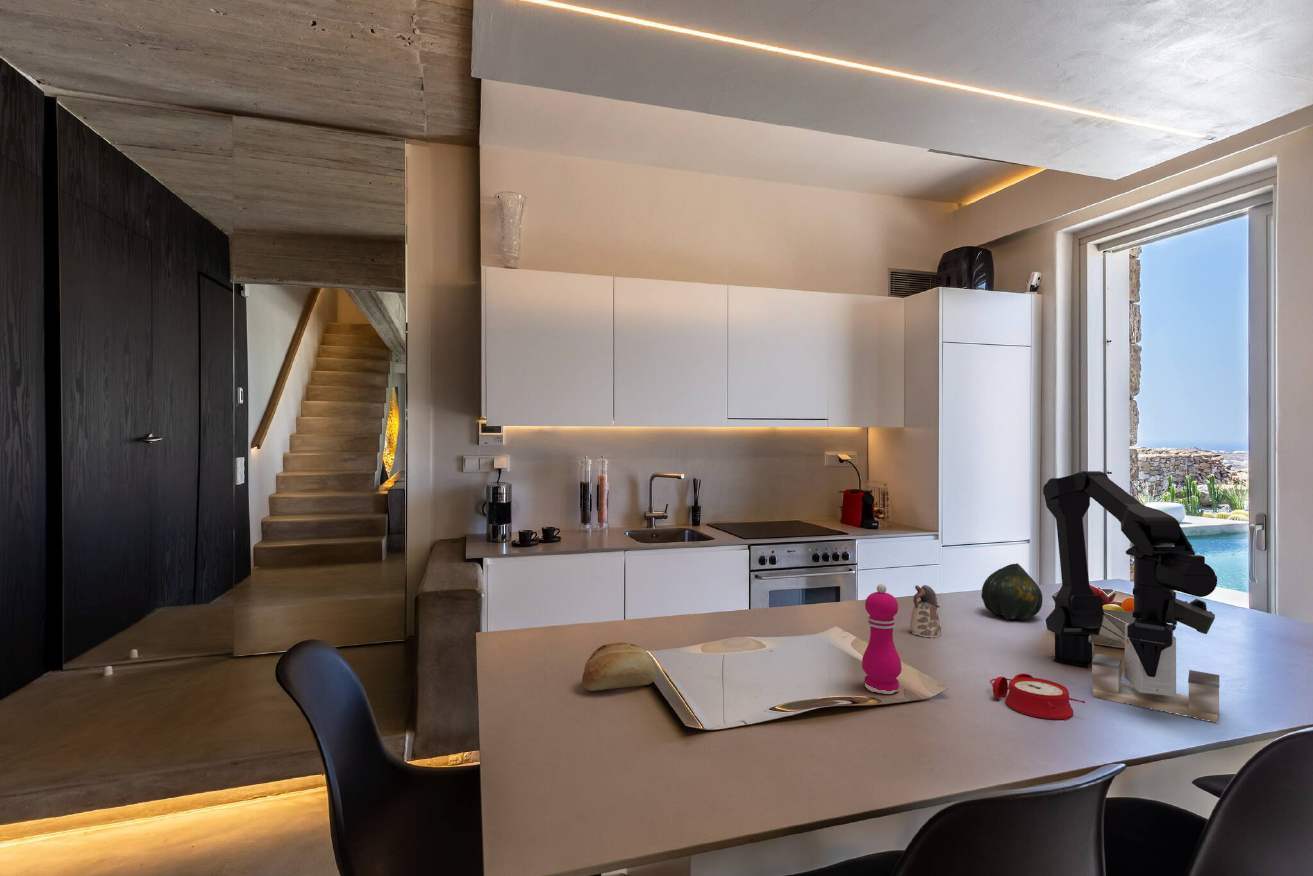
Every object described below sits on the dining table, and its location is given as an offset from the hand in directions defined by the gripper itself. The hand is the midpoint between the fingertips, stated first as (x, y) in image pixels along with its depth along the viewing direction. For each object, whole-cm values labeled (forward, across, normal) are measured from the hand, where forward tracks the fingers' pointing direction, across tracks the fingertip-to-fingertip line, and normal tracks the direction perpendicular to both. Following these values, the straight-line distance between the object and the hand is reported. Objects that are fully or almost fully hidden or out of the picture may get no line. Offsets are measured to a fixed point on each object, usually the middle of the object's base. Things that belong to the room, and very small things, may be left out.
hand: (1153, 669), depth 119 cm
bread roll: (+6, -58, +79) cm, 98 cm away
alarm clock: (+6, -16, +17) cm, 24 cm away
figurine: (+6, +17, +46) cm, 49 cm away
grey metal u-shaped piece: (+6, 0, 0) cm, 6 cm away
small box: (+4, 0, +1) cm, 4 cm away
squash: (+6, +49, +34) cm, 60 cm away
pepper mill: (+6, -26, +40) cm, 48 cm away
